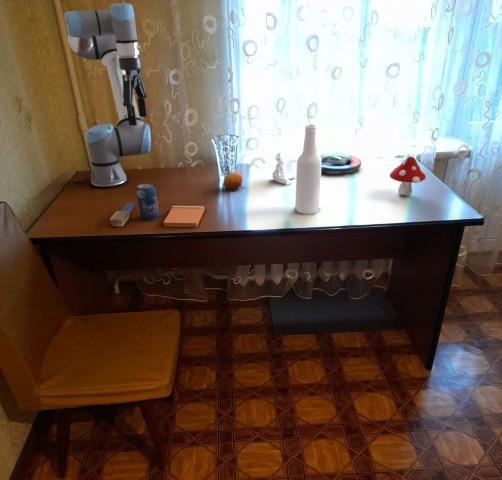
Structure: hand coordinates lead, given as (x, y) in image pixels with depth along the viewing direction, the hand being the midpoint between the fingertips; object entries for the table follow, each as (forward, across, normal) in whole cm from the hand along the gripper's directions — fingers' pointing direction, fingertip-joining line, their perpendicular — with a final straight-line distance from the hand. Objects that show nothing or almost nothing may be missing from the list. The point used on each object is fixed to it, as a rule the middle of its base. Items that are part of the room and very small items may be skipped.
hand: (138, 121), depth 182 cm
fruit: (+29, +8, -34) cm, 45 cm away
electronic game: (+29, +38, -78) cm, 91 cm away
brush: (+28, -24, +3) cm, 37 cm away
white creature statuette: (+29, +19, -54) cm, 64 cm away
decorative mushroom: (+28, +4, -104) cm, 108 cm away
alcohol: (+28, -14, -65) cm, 72 cm away
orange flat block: (+28, -24, -20) cm, 42 cm away
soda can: (+29, -24, -7) cm, 38 cm away
